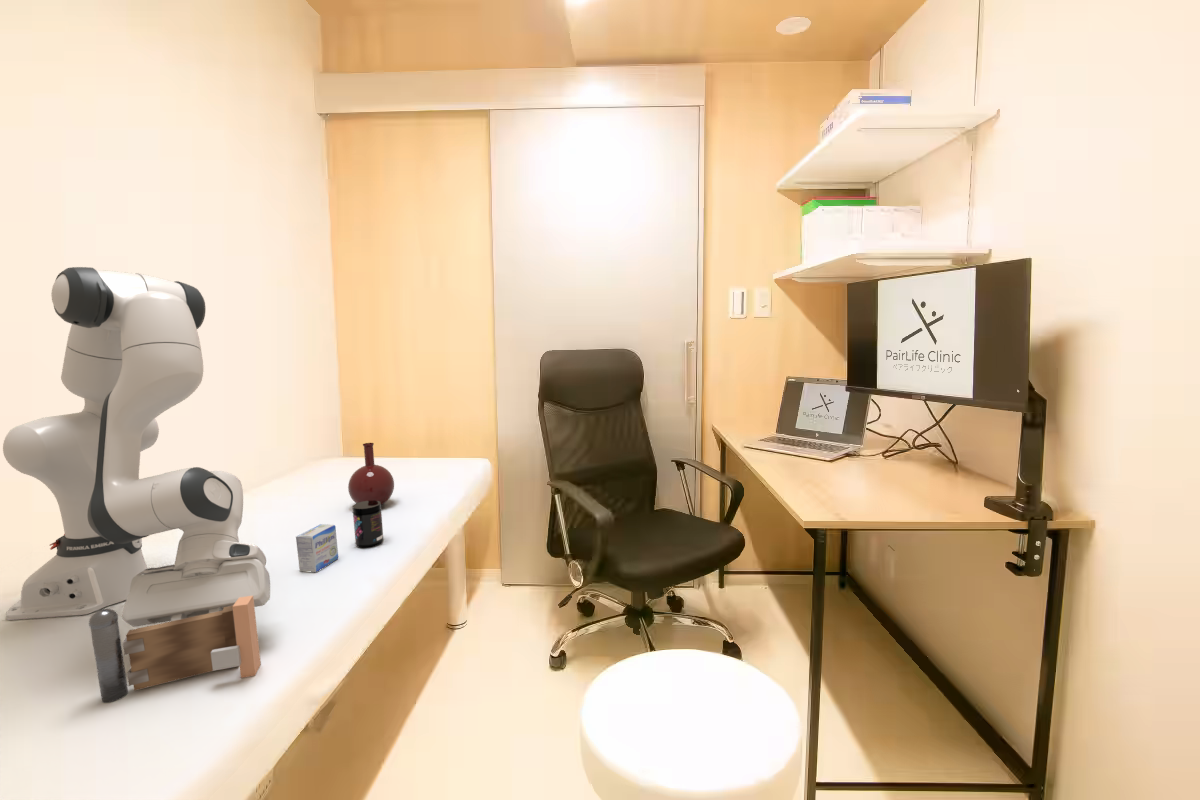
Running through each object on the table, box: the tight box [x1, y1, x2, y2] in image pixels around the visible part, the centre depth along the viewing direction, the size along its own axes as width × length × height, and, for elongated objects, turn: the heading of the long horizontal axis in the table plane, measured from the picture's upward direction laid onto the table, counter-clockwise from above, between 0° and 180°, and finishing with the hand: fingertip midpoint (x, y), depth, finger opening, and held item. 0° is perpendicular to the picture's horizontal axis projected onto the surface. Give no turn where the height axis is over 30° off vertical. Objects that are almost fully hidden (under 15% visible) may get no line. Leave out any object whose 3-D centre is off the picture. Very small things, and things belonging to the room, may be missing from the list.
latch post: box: [211, 596, 262, 679], centre depth 86 cm, size 5×4×12 cm
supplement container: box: [351, 500, 384, 549], centre depth 139 cm, size 7×7×10 cm
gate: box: [122, 606, 237, 691], centre depth 86 cm, size 14×2×9 cm, turn 117°
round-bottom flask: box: [347, 442, 395, 506], centre depth 168 cm, size 13×13×20 cm
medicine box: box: [295, 523, 339, 573], centre depth 127 cm, size 8×4×9 cm, turn 168°
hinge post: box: [88, 608, 129, 704], centre depth 81 cm, size 3×3×14 cm
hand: (193, 642), depth 87 cm, fingers closed
